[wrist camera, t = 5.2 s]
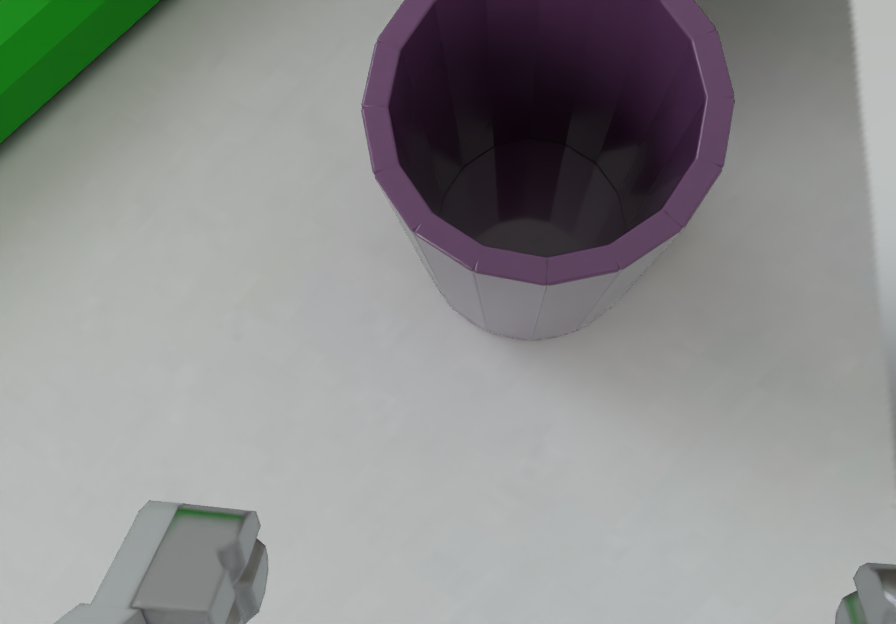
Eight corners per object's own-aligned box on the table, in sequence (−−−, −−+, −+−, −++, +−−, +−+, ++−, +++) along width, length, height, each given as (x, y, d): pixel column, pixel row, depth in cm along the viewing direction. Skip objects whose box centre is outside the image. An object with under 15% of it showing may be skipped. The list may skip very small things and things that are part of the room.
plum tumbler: (679, 202, 23) (804, 45, 14) (561, 382, 23) (600, 355, 13) (499, 93, 24) (493, -129, 14) (382, 264, 24) (293, 155, 14)
